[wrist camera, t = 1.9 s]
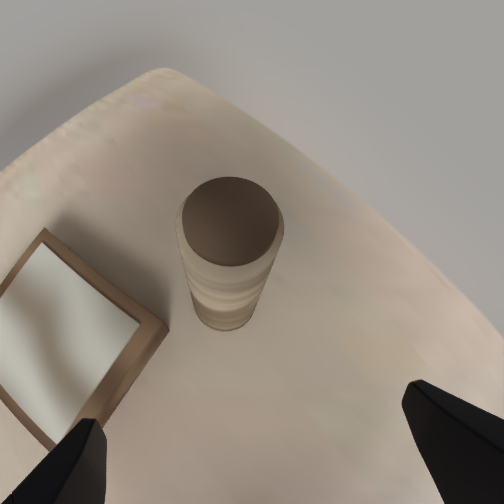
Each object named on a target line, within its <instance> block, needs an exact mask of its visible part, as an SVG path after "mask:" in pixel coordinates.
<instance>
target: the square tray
mask: <svg viewBox="0 0 504 504" xmlns="http://www.w3.org/2000/svg"><path fill="white" fill-rule="evenodd" d="M168 332H169V330H168V328H167V327H166V325H165V324H164V323H163V321H161V320H160V319H158V318H157V317H156V316H154V315H153V314H151V313H150V312H149V311H147V310H146V309H145V308H143V307H142V306H141V305H139V304H138V303H136V302H135V301H134V300H132V299H131V298H130V297H128V296H127V295H126V294H124V293H123V292H122V291H121V290H119V289H118V288H117V287H115V286H114V285H113V284H112V283H110V282H109V281H108V280H106V279H105V278H104V277H103V276H101V275H100V274H99V273H98V272H96V271H95V270H94V269H93V268H91V267H90V266H89V265H88V264H87V263H85V262H84V261H83V260H82V259H81V258H79V257H78V256H77V255H76V254H75V253H73V252H72V251H71V250H70V249H69V248H68V247H66V246H65V245H64V244H63V243H62V242H61V241H59V240H58V239H57V238H56V237H55V236H54V235H53V234H51V233H50V232H49V231H48V230H47V229H46V228H45V227H44V229H43V230H42V231H41V232H40V233H39V235H38V236H37V237H36V238H35V240H34V241H33V242H32V243H31V245H30V246H29V247H28V248H27V250H26V251H25V252H24V254H23V255H22V256H21V257H20V259H19V260H18V261H17V263H16V264H15V265H14V267H13V268H12V270H11V271H10V272H9V274H8V275H7V276H6V278H5V279H4V281H3V282H2V284H1V285H0V399H1V400H2V402H3V403H4V404H5V405H6V406H7V407H8V409H9V410H10V411H11V412H12V413H13V414H14V416H15V417H16V418H17V419H18V420H19V421H20V422H21V423H22V424H23V425H24V427H25V428H26V429H27V430H28V431H29V432H30V433H31V434H32V435H33V436H34V437H35V438H36V439H37V440H38V441H39V442H40V443H41V444H42V445H43V446H44V447H45V448H46V449H47V450H48V451H49V452H50V451H51V450H52V449H53V448H54V447H55V446H56V445H57V444H58V443H59V442H60V441H61V440H62V439H63V438H64V436H65V435H66V434H67V433H68V432H69V431H70V430H71V429H72V428H73V427H74V426H75V425H76V424H77V423H78V422H79V421H80V420H81V419H82V418H85V417H86V418H96V419H97V420H98V422H99V424H100V426H101V428H103V426H104V425H105V423H106V422H107V420H108V419H109V418H110V416H111V415H112V413H113V412H114V410H115V409H116V407H117V406H118V404H119V403H120V401H121V400H122V399H123V397H124V396H125V394H126V393H127V391H128V390H129V388H130V387H131V385H132V384H133V383H134V381H135V380H136V378H137V377H138V375H139V374H140V372H141V371H142V370H143V368H144V367H145V365H146V364H147V362H148V361H149V360H150V358H151V357H152V355H153V354H154V352H155V351H156V350H157V348H158V347H159V345H160V344H161V342H162V341H163V340H164V338H165V337H166V335H167V334H168Z"/></svg>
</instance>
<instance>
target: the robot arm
mask: <svg viewBox="0 0 504 504" xmlns="http://www.w3.org/2000/svg"><path fill="white" fill-rule="evenodd" d="M402 408H403V411H404V414H405V416H406V419H407V421H408V424H409V427H410V430H411V432H412V435H413V438H414V440H415V443H416V445H417V447H418V450H419V452H420V454H421V456H422V458H423V460H424V462H425V464H426V466H427V468H428V470H429V472H430V474H431V476H432V478H433V480H434V482H435V484H436V486H437V489H438V491H439V493H440V495H441V497H442V499H443V501H444V504H504V419H501V418H499V417H497V416H495V415H493V414H491V413H489V412H487V411H485V410H482V409H480V408H478V407H476V406H474V405H472V404H470V403H468V402H466V401H464V400H462V399H460V398H458V397H456V396H454V395H452V394H450V393H448V392H446V391H444V390H442V389H440V388H438V387H436V386H434V385H432V384H430V383H428V382H426V381H424V380H416V381H412V382H410V383H409V384H408V386H407V388H406V391H405V394H404V396H403V399H402ZM106 456H107V439H106V436H105V434H104V432H103V430H102V428H101V426H100V424H99V422H98V420H97V419H96V418H86V417H85V418H82V419H81V420H80V421H79V422H78V423H77V424H76V425H75V426H74V427H73V428H72V429H71V430H70V431H69V432H68V433H67V434H66V435H65V436H64V438H63V439H62V440H61V441H60V442H59V443H58V444H57V445H56V446H55V447H54V448H53V449H52V450H51V451H50V452H49V453H48V454H47V456H46V457H45V458H44V459H43V460H42V461H41V462H40V463H39V464H38V465H37V466H36V467H35V468H34V469H33V470H32V472H31V473H30V474H29V475H28V476H27V477H26V478H25V479H24V480H23V481H22V482H21V483H20V484H19V485H18V486H17V488H16V489H15V490H14V491H13V492H12V494H10V495H9V496H8V497H7V498H6V499H5V500H4V501H3V502H2V503H1V504H104V503H105V494H106Z"/></svg>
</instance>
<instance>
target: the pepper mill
mask: <svg viewBox="0 0 504 504" xmlns="http://www.w3.org/2000/svg"><path fill="white" fill-rule="evenodd" d="M176 234H177V238H178V242H179V247H180V251H181V255H182V260H183V264H184V268H185V272H186V276H187V280H188V284H189V288H190V292H191V296H192V300H193V304H194V308H195V311H196V314H197V316H198V317H199V319H200V320H201V321H202V322H203V323H204V324H205V325H207V326H208V327H210V328H212V329H214V330H218V331H232V330H235V329H238V328H240V327H242V326H243V325H244V324H246V323H247V322H248V321H249V319H250V318H251V316H252V314H253V312H254V310H255V307H256V305H257V302H258V300H259V297H260V295H261V292H262V290H263V287H264V285H265V282H266V280H267V277H268V275H269V272H270V270H271V267H272V265H273V262H274V260H275V257H276V255H277V252H278V250H279V247H280V245H281V242H282V239H283V234H284V222H283V217H282V214H281V211H280V209H279V207H278V206H277V204H276V203H275V201H274V200H273V198H272V197H271V196H270V194H269V193H268V192H267V191H266V190H265V189H263V188H262V187H261V186H259V185H258V184H256V183H254V182H252V181H249V180H247V179H243V178H238V177H221V178H216V179H213V180H210V181H207V182H205V183H203V184H202V185H200V186H199V187H197V188H196V189H195V190H194V191H193V192H192V193H191V194H190V195H189V196H188V197H187V198H186V199H185V201H184V202H183V204H182V205H181V207H180V209H179V212H178V215H177V219H176Z"/></svg>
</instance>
